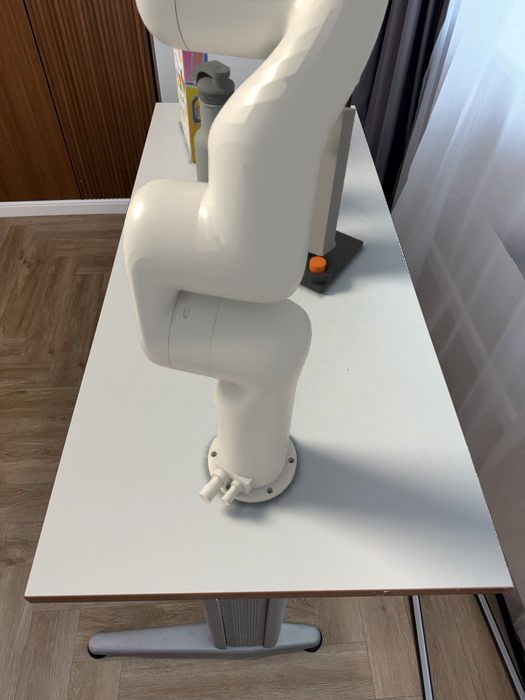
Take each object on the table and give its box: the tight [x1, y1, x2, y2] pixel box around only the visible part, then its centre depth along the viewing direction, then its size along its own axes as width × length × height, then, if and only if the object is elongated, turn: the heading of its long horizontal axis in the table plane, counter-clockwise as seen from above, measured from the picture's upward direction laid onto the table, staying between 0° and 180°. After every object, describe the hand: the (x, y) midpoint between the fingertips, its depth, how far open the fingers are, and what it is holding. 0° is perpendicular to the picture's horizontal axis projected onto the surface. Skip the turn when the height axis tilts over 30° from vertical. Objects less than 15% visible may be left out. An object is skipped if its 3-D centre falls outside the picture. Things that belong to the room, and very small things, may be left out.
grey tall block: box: [308, 107, 357, 256], centre depth 92 cm, size 14×6×25 cm, turn 59°
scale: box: [299, 229, 364, 295], centre depth 100 cm, size 17×16×3 cm
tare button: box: [309, 257, 326, 273], centre depth 94 cm, size 3×3×2 cm
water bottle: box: [190, 59, 236, 183], centre depth 102 cm, size 10×10×28 cm
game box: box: [172, 47, 209, 162], centre depth 119 cm, size 21×6×27 cm, turn 13°
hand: (326, 126), depth 84 cm, fingers open, 9 cm apart
